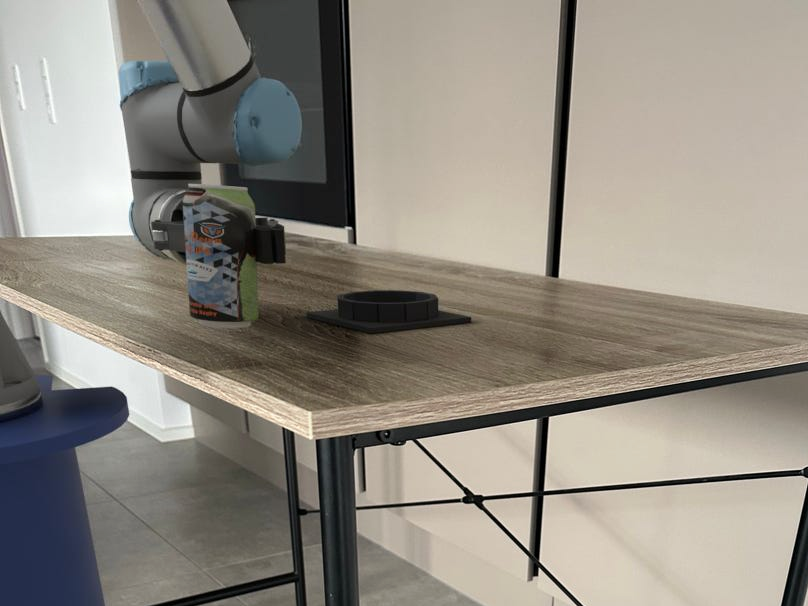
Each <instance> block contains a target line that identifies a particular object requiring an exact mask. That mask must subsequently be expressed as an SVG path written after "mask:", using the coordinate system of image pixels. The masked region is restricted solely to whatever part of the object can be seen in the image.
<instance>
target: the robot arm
mask: <svg viewBox="0 0 808 606" xmlns="http://www.w3.org/2000/svg"><path fill="white" fill-rule="evenodd" d="M136 2H137V4H138V5H139V8H140V10H141V11H142V13H143V15H144V17H145V19H146V21H147V23H148V25H149V27H150V28H151V31H152V33H153V34H154V36H155V38H156V40H157V42H158V44H159V47H160V48H161V50H162V52H163V54H164V55H165V57H166V60H167V61H163V60H128V61H125V62H123V63H122V64H121V65H120V66H119V69H118V81H119V94H120V100H119V109H120V112H121V114H122V115H121V116H122V122H123V127H124V133H125V141H126V148H127V154H128V161H129V166H130V167H129V169H130V175H131V177H130V182H131V187H132V188H131V189H132V196H133V197H132V198H133V199H132V201H131V203H130V206H129V209H128V224H129V227H130V230H131V233H132V234H133V236H134V238H135V239H136V241H137V242H138V243H139V245H141V246H142V247H143V248H144V249H145V250H146V251H148V252H149V253H151V254H152V255H154V256H156V257H157V258H161V259H163V260H166V261H167V260H169V261H174V262H177V263H180V264H183V265H186V266H187V262H186V246H185V231H184V215H183V199H184V196H185V195H186V193H187V191H188V190H189V186H188V184H203V182H202V181H203V180H202V179H203V177H202V166H201V164H226V165H227V164H229V165H230V164H231V165H246V166H249V167H259V166H265V165H274V164H280V163H283V162H285V161H287V160H289V159H290V158H292V155H293V154H294V153H295V152H296V150H297V149H298V146H299V144H300V141H301V136H302V132H303V131H302V129H303V122H302V121H303V120H302V114H301V109H300V106H299V103H298V101H297V98H296V96H295V95H294V93H293V91H291V90H290V89H289V88H287V86H286V85H285V84H284V83H283V82H281V81H280V80H277V79H273V78H270V77H266V76H265V77H264V76H261V73H260V71H259V68H258V67H257V65H256V62H255V60H254V59H253V57H252V54H251V51H250V49H249V46H248V44H247V42H246V40H245V38H244V35H243V33H242V31H241V28H240V27H239V25H238V21H237V20H236V17H235V15H234V13H233V11H232V9H231V7H230V4H229V2H228V0H136ZM255 224H256V228H254V243H255V260H256V262H257V263H259V264H263V265H273V264H277V265H278V264H279V265H280V264H287V262H286V255H287V246H286V245H287V244H286V232H285V225H283V224H281V223H279V220H276V219H274V218H270V219H268V217H255ZM36 375H37V374H36V373H35V372H34V370H33V368H32V366H31V364H30V363H29V361H28V359H27V357H26V356H25V353H24V352H23V350H22V349H21V346H20V344H19V343H18V341H17V339H16V337H15V336H14V334H13V331H12V330H11V328H10V326H9V324H8V323H7V321H6V319H5V318H4V316H3V313H2V311H1V310H0V423H4V422H8V421H12V420H15V419H18V418H21V417H24V416H27V415H29V414H31V413H33V412H35V411H37V410H38V409H39V408H40V407H41V406H42V405H43V400H42V395H41V390H40V386H39V385H38V380H37V378H36Z"/></svg>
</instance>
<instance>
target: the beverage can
mask: <svg viewBox="0 0 808 606" xmlns="http://www.w3.org/2000/svg"><path fill="white" fill-rule="evenodd" d="M188 186H189V190H188V191H187V193H186V195H185V196H184V199H183V215H184V231H185V246H186V262H187V265H186V276H187V291H188V307H189V309H188V310H189V316H190V317H191V318H193V319H195V320H197V321H198V324H199V325H200V326H202V327H209V328H216V329H243V328H244V329H245V328H249V327H250V326H251V325H252V322H254V321H257V320H258V319H259V316H260V315H259V313H260V312H259V287H258V286H259V285H258V262H256V260H255V243H254V228H256V224H255V218H256V206H255V202H254V201H253V199H252V197H251V196H250V194H249V192H248V190H249V189H248V187H243V186H234V185H233V186H231V185H220V184H219V185H218V184H203V183H202V184H188Z"/></svg>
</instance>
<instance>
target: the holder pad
mask: <svg viewBox="0 0 808 606" xmlns="http://www.w3.org/2000/svg"><path fill="white" fill-rule="evenodd" d="M336 297H337V309H327V310H315V311H306V318H307V319H312V320H316V321H320V322H325V323H327V324H332V325H336V326H340V327H343V328H347V329H348V328H349V329H351V330H356V331H359V332H363V333H367V334H380V333H389V332H390V333H391V332H397V331H405V330H414V329H415V330H416V329H423V328H432V327H433V328H434V327H442V326H448V325H449V326H450V325H457V324H469V323H472V316H468V315H463V314H459V313H454V312H449V311H444V310H439V297H438V296H437V295H436V294H435V293H430V292H425V291H416V290H402V289H398V290H396V289H387V290H386V289H380V290H379V289H377V290H376V289H372V290H362V291H361V290H360V291H350V292H346V293H345V292H344V293H341V294H337V296H336Z"/></svg>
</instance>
